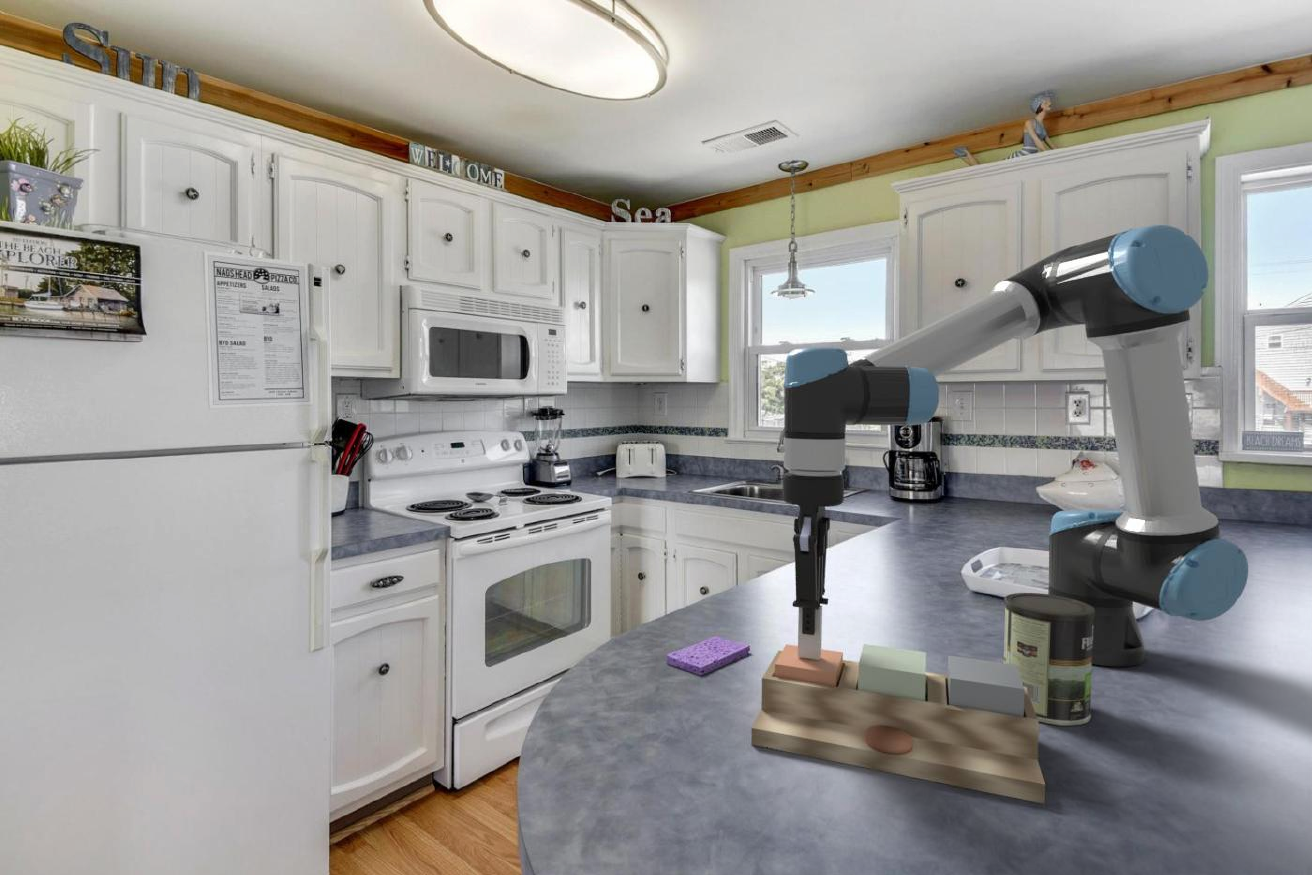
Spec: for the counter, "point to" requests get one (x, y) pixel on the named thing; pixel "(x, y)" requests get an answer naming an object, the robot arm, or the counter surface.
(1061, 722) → the coffee can
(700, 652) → the sponges
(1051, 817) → the counter surface
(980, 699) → the grey key
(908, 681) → the sage key
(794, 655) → the terracotta key
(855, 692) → the key panel
